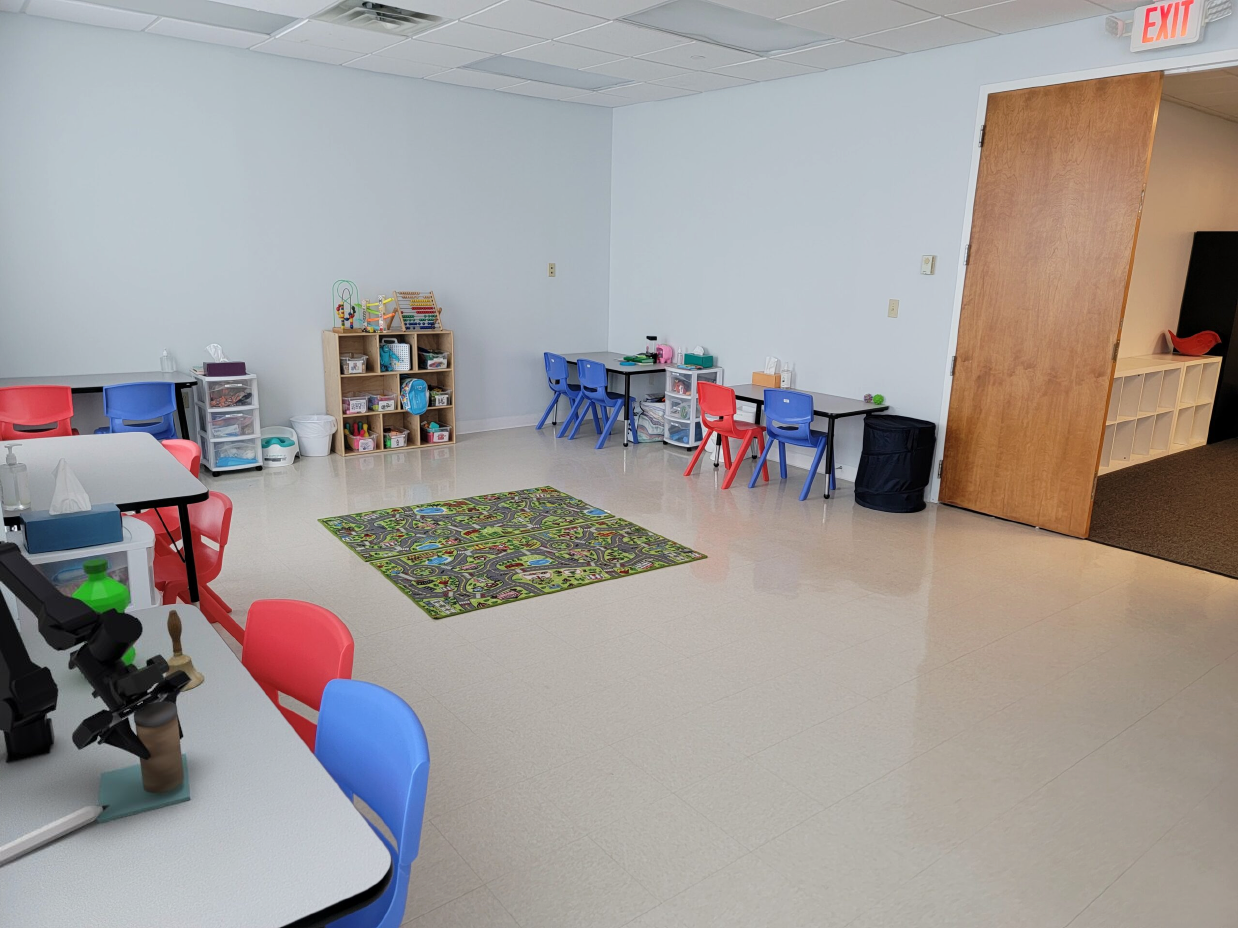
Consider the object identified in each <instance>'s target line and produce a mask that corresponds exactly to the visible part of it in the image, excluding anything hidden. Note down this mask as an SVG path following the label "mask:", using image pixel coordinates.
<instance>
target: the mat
mask: <svg viewBox="0 0 1238 928" xmlns="http://www.w3.org/2000/svg"><path fill="white" fill-rule="evenodd" d="M181 754H182V763H183V772H184V780H183V782H182V783H181V784H180V785H179V786H177V787H176V788H174V789H172V790H169V791H166V792H161V793H150V792H147V791H145V790H144V788H143V781H142V773H141V765H140V763H138V764H135V765H130V766H127V767H122V768H117V769H113V770H110V771H109V770H108V771H106V772H102V773H100V781H99V795H98V806H105V805H110V804H111V805H110V806H109V807H108V808H106V809H105V810H104V811H102V812H101V813H100V814H99V815H98V816H97V823H98V824H102V823H105V822H108V821H113V820H117V819H120V818H124V817H128V816H129V817H130V816H132V815H136V814H137V815H138V814H141V813H145V812H148V811H151V810H156V809H160V808H163V807H168V806H171V805H175V804H179V803H183V802H187V801H190V800H191V794H190V793H191V792H190V781H189V773H188V763H187V761H188V759H187V753H181Z"/></svg>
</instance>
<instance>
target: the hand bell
mask: <svg viewBox="0 0 1238 928" xmlns="http://www.w3.org/2000/svg"><path fill="white" fill-rule="evenodd" d="M166 624H167V632H168V635H169V637H170V638H171V641H172V642H171V644H172V652H173V653H172V655H173V656H171V657H170V658H169V659H167V660H166V661H167V663H168V665H169V667H170V669H169V671H168V672H166V673H165V675H164V677H166V676H168V675H170V674H172V673H174V672H176V671H178V670H181V671H185V672H186V673H187V674H188V675H189V677H190V678H191V679H192V680H191V681H190V682H189V684H188V685H187V686H186V687H185V688H184V689H183V690H182V691H181V692H185V691H188V690H192V689H194V688H196V687H199V685H201V684H202V683H203V682H204V679H205V676H204V675H203V674H202V673H201V672H200V671H197V669H196V668H195V667H194V664H193V660H192V657H191V656H190V655H188V654H183V653H184V652H183V647H182V640H181V636H182V631H183V630H182V629H183V627H182V626H183V624H182V620H181V618H180V616H179V615H178V612H177V610H176V609H173V610H172V609H171V610H170V611H169V612H168V617H167V622H166Z"/></svg>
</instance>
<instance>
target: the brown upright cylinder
mask: <svg viewBox="0 0 1238 928" xmlns="http://www.w3.org/2000/svg"><path fill="white" fill-rule="evenodd" d="M177 714H179V713H178V706H177V703H176V704H175V703H173V702H168V701H161V702H154V703H150V704H147V705H145V706H143V707H141V708H139V709H138V710H136V711H135V713H133V721H134V722H133V723H134V724H135V732H136V733H135V734H136V735H137V737H138V738H139V739H140V740H141V742H142V743H143V744H144V745H145V747H146V748H147V750H148V751H149V753H150V755H151V757H150V758H149V759H148V760H145V759H143V758H141V757H139V764H140V765H141V773H142V781H143V788H144V790H145V791H147V792H150V793H161V792H166V791H169V790H172V789H174V788H176V787H177V786H179V785H180V784H181V783H182V782H183V780H184V772H183V763H182V754H183V753H182V747H181V746H182V745H181V740H180V736H179V727H178V719H177Z"/></svg>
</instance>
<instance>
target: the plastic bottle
mask: <svg viewBox="0 0 1238 928" xmlns="http://www.w3.org/2000/svg"><path fill="white" fill-rule="evenodd" d="M82 567H83V573H84V574H85V575H87V580H85V581H84V582H83V583H82V584H81V585H80V586H79V587H78V589H76V591H75V592H73V594H72V595H71V597H73V598H77V599H80V600H82V601H83V602H84V603H86V604H87V605H88V606H90V607H91V608H93V609H94V610H95V611H97V612H100V613H103V612H104V611H106V610H109V609H111V608H115V609H116V610H117V612H118V613H126V612H125V610H126V609H127V608H128V606H130V601H131V595H130V591H129V589H128V588H127V586H126V585H124V584H122V583H121V582H119V581H117V580H115V579H114V578H111V577H110V576H107V571H108V570H109V564H108V560H107V559H106V558H95V559H93V558H92V559H90V560H86V561H84V562H83V563H82ZM86 643H87V641H85V642H83V645H84V644H86ZM136 655H137V654H136V648H135V646H134V645H133V646H132V647H131V648H130V650H129V651H128V652H127V653H126V655H125V656H123V657H122V659H123V661H124V662H125V663H126V665H127V666H128V665H130V664H133V662H134V661H135V658H136Z"/></svg>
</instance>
